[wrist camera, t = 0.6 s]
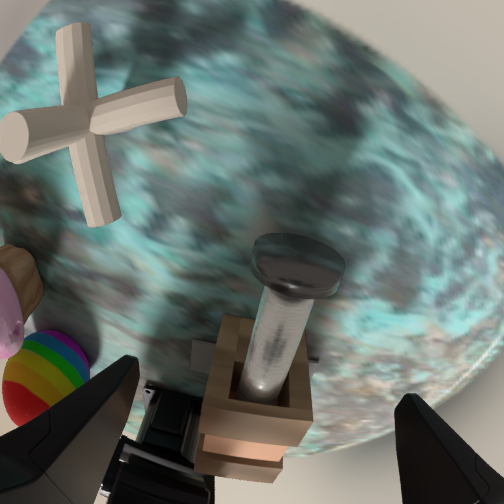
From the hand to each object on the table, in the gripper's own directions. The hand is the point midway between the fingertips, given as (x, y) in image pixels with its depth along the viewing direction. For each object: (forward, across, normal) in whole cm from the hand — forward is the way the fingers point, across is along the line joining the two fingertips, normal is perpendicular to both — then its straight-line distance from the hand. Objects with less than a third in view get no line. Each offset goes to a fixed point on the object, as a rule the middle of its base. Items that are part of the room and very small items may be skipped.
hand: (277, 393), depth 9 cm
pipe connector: (+12, +10, -7) cm, 17 cm away
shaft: (+8, 0, +6) cm, 10 cm away
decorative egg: (+12, +18, +15) cm, 26 cm away
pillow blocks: (+12, 0, +11) cm, 16 cm away
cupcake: (+12, +21, +6) cm, 25 cm away
